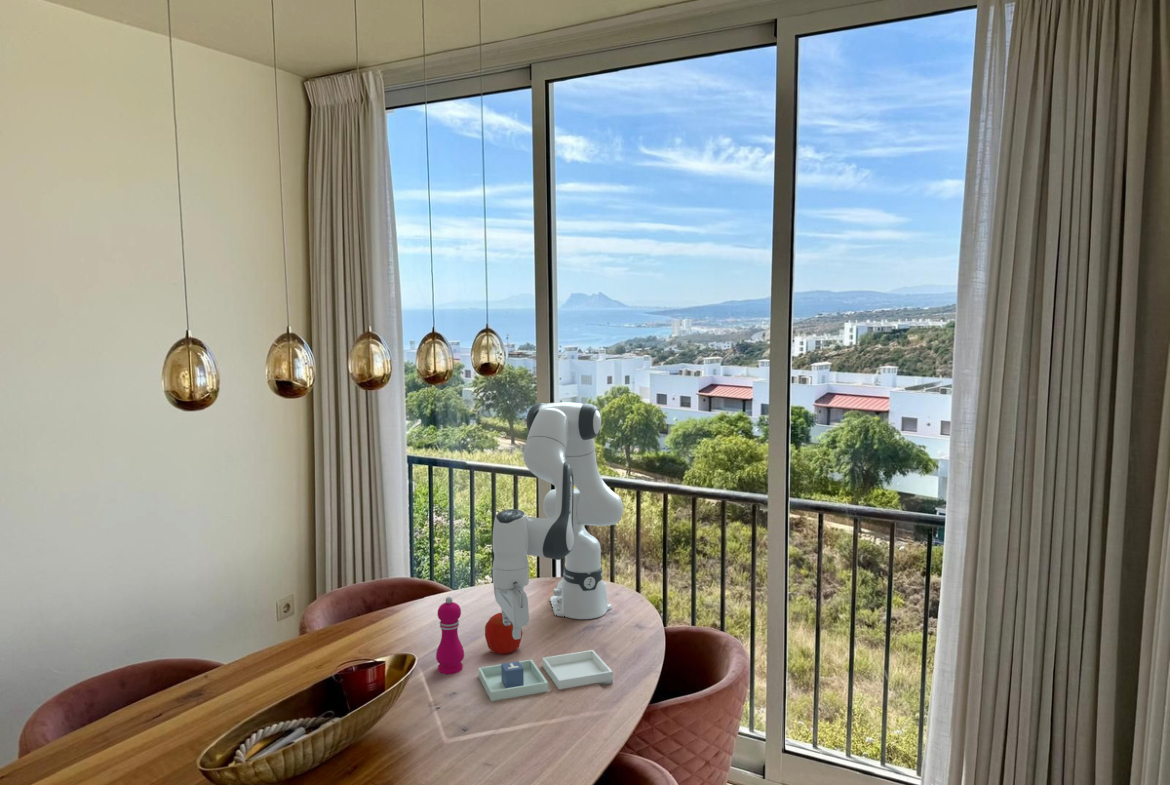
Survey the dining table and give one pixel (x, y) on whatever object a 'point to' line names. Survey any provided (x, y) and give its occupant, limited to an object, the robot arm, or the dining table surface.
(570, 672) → the tray offwhite
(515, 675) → the letter cube
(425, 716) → the dining table surface
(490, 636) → the apple
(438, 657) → the pepper mill
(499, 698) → the tray sage
